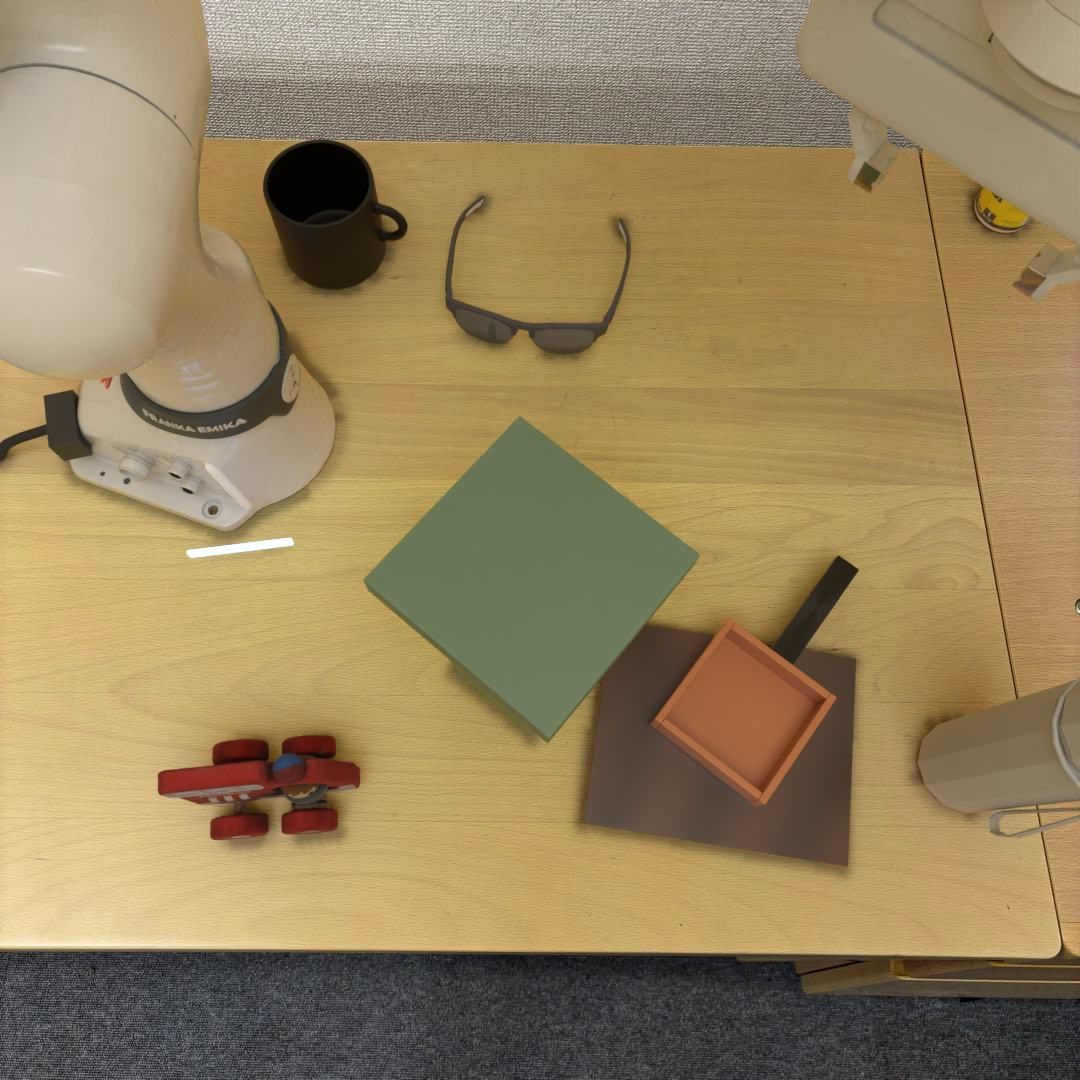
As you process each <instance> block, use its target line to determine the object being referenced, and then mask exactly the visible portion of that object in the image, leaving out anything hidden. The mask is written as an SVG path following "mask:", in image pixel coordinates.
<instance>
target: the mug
mask: <svg viewBox="0 0 1080 1080" xmlns="http://www.w3.org/2000/svg"><path fill="white" fill-rule="evenodd" d="M262 181H263V182H262V193H263V198H264V201H265V203H266V207H267V208H268V211H269V215H270V218H271V220H272V223H273V225H274V228H275V231H276V234H277V237H278V239H279V242H280V245H281V247H282V251H283V253H284V256H285V259H286V261H287V263H288V264H287V265H288V266H289V267H290V269H291V271H292V272H293V273H294V274H296V277H298V278H299V279H301V280H303V281H304V282H305V283H307V284H308V285H311V286H312V287H313V286H314V287H316V288H319V289H324V290H343V289H349V288H351V287H354V286H357V285H359V284H361V283H363V282H365V281H366V280H368V279H370V278H371V276H373V274H375V273H376V271H377V270H378V269H379V267H380V265H381V263H382V262H383V260H384V257H385V254H386V247H387V242H396V241H400V240H401V239H403V238H404V237H405V236H406V235H407V233H408V230H409V224H408V222H407V219H406V218H405V216H404V215H403V214H402V213H401V212H400V211H398V210H397V209H396V208H393V207H392V206H389V205H386V204H382V202H379V199H378V193H377V188H376V182H375V177H374V173H373V171H372V168H371V165H370V163H369V162H368V161H367V159H366V158H365V157H364V156H363V154H362V153H360V152H359V151H358V150H356V149H355V148H354V147H352V146H351V145H348V144H346V143H344V142H340V141H338V140H333V139H325V138H323V139H320V138H319V139H318V138H317V139H309V140H304V141H302V142H301V141H300V142H297V143H295V144H292V145H291V146H288V147H287V148H285V149H283V150H282V151H280V153H278V154H277V155H276V156H275V157H274V158H273V159H272V161H271V162H270V163H269V165H268V166H267V169H266V170H265V174H264V176H263V180H262ZM382 216H385V217H388V218H390V219H391V220H393V221H394V222H395V223H396V225H397V226H398V227H397V229H396V230H393V231H387V230H386V229H384V224H383V219H382Z"/></svg>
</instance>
